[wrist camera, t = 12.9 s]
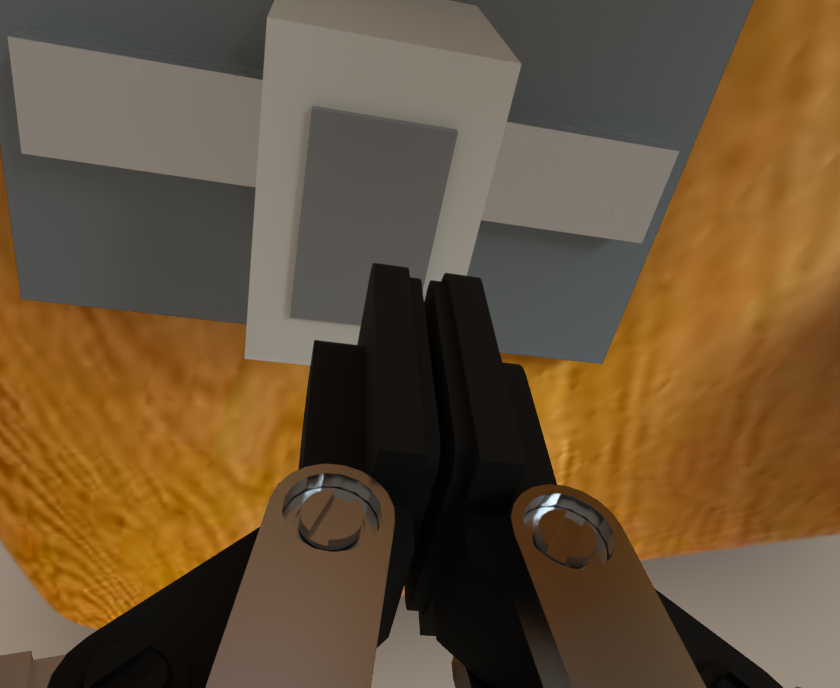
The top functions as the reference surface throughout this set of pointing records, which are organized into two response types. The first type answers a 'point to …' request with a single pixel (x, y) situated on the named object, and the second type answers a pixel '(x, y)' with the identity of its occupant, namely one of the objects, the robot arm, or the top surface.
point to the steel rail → (240, 123)
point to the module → (368, 158)
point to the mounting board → (234, 204)
